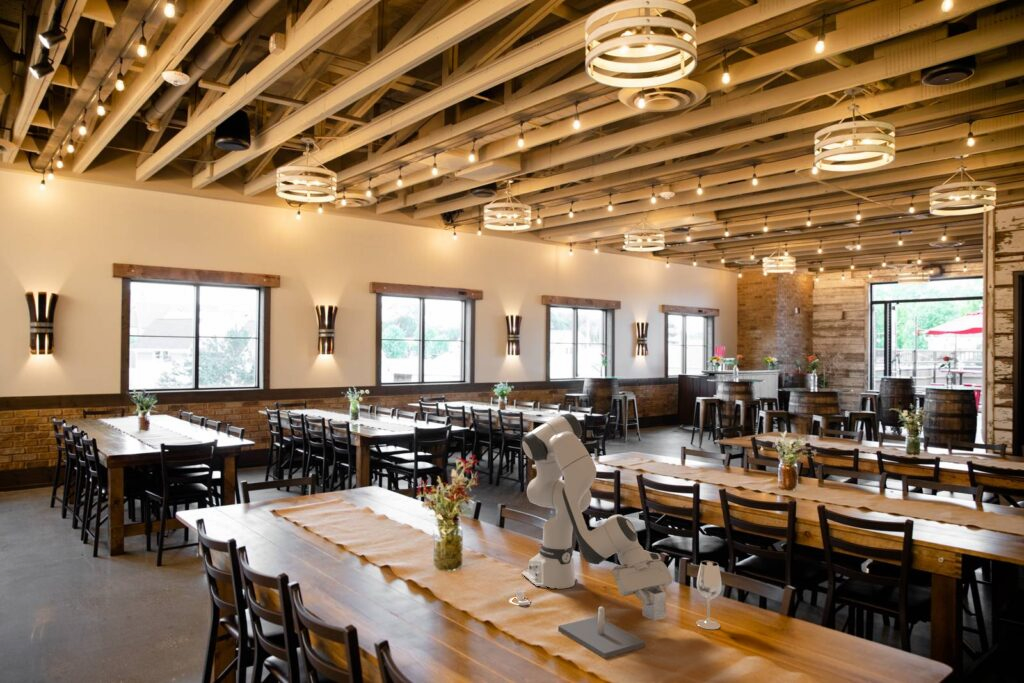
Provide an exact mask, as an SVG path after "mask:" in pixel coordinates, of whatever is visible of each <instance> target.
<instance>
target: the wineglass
mask: <svg viewBox="0 0 1024 683" xmlns="http://www.w3.org/2000/svg"><path fill="white" fill-rule="evenodd" d="M722 586H723V585H722V576H721V570H720V566H719V563H718V562H715V561H712V560H711V561H710V560H703V561H701V562H700V564H699V568H698V573H697V577H696V588H697V591H698V593H699V594H700V595H701V596H702V597H704V599H706V605H707V608H706V619H697V621H696V622H695V624H696V625H697V626H698V627H699V628H701V629H705V630H717V629H719V628H721V624H720V623H718V622H717V621H714V620H711V618H710V612H711V611H710V609H711V608H710V607H711V601H712V600H713V599H715V598H717V597H718V596H719V595H720V593H721V591H722Z"/></svg>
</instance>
